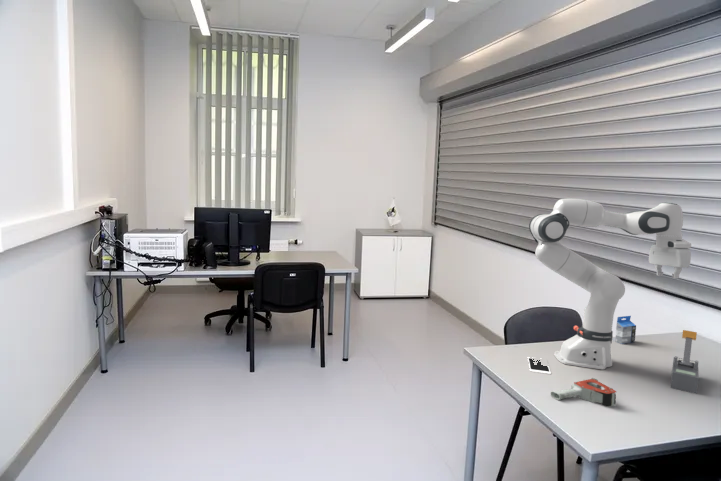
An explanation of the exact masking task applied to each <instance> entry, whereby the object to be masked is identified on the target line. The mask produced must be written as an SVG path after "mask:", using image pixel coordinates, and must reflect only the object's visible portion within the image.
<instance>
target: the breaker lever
mask: <svg viewBox="0 0 721 481" xmlns="http://www.w3.org/2000/svg"><path fill="white" fill-rule="evenodd" d="M681 334H682V335H681V339H685V342H684V348H683V349H684V350H683V351H684V352H683V358H682V359H683V361H682V360H678V365H681V366H686V367H690V368H694V363H692V362H690V360H691V353H692V344H693V341H696V340H697V334H698V333H697V332H696V331H691V330H685V329H683V330H682V333H681Z"/></svg>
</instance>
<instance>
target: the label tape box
mask: <svg viewBox="0 0 721 481" xmlns="http://www.w3.org/2000/svg"><path fill="white" fill-rule="evenodd" d="M631 316H632V315H625V316H618V317H617V320H616V327H615V329H616V330H615V341H614V342H615V343H618V344H620V345H621V344H622V345H623V344H631V343H635V342H636V332H637V331H636V330H637V325H636V324H635V323H634V322H632V321H631Z"/></svg>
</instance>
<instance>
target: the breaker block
mask: <svg viewBox="0 0 721 481" xmlns="http://www.w3.org/2000/svg"><path fill="white" fill-rule="evenodd" d="M678 360H682V361H683V358H681V357H679V356H673V362H672V369H671V379H670V388H671V389H675V390H679V391H683V392H689V393H691V394H692V393H693V394H695V395H697V393H698V387H699V386H698V385H699V379H700V377H699V376H700V375H699V374H700V373H699V360H691V359H690V362H692V363H694V368H690V367H686V366H681V365H678Z"/></svg>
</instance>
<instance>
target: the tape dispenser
mask: <svg viewBox="0 0 721 481" xmlns="http://www.w3.org/2000/svg"><path fill="white" fill-rule="evenodd" d="M602 388H604V389H602ZM616 393H617V391H616V390H615V389H613V388H612V387H610V386H608V385H605V384H604V383H603V382H600V381H599V380H598V378H596V377H592V378H589V379H583V380H580V381H579V380H578V381H573V384H572V385H571V388H569V389H561V390H551V391H550V396H551V398H553V399H555V400H557V401H561V400H563V399H568V398H572V397H578V398H579V397H580V398H579V399H581V400H584V401H588V402H590V403H600V404H601V405H602V406H604V407H617V404H616V403H617V402H616V398H617V394H616Z"/></svg>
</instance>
